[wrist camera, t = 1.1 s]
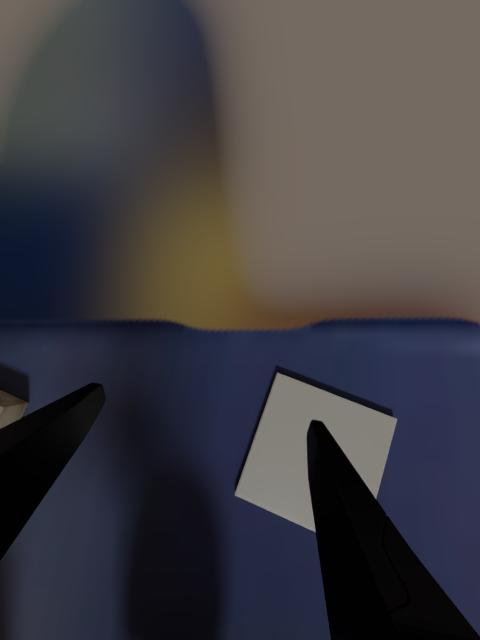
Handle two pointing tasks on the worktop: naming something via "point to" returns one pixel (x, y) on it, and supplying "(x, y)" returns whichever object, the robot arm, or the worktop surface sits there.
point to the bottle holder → (10, 408)
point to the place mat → (291, 447)
